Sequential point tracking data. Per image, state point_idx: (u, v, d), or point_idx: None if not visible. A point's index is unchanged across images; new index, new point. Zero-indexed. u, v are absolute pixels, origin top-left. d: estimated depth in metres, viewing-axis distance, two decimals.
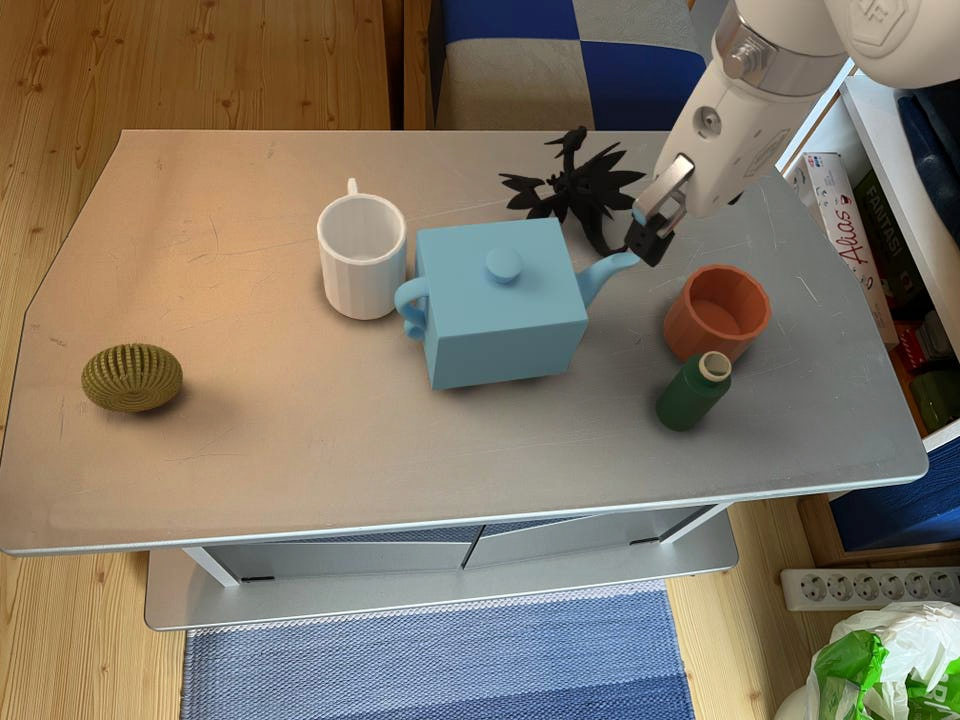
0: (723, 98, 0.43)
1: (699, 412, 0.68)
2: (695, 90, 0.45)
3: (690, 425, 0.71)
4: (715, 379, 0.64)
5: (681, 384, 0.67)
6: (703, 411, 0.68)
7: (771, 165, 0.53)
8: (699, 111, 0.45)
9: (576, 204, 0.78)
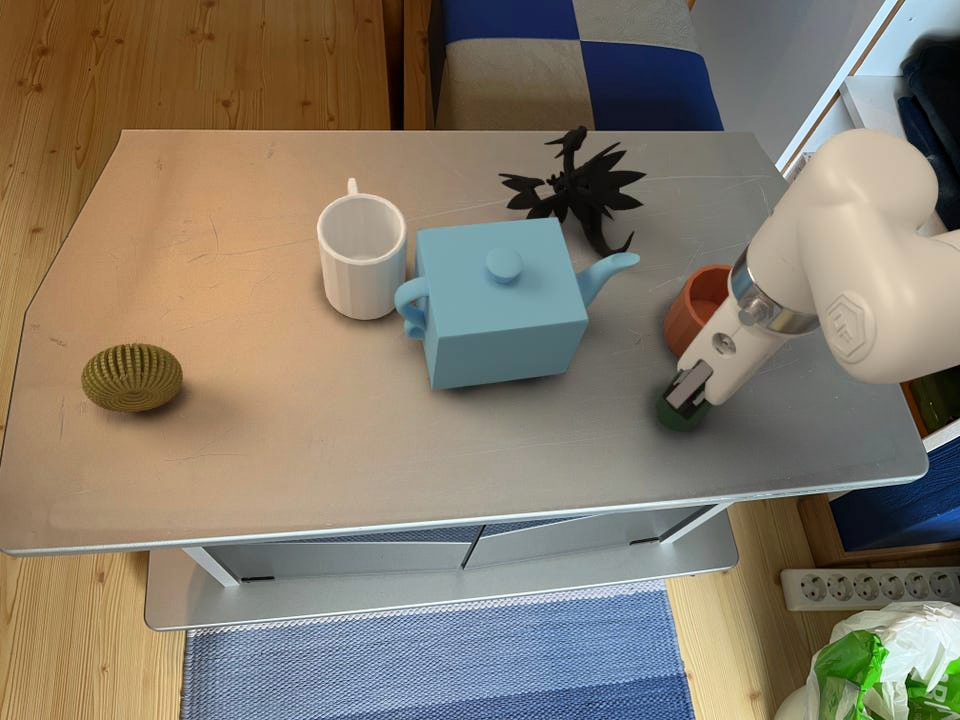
0: (737, 331, 0.53)
1: (699, 412, 0.68)
2: (714, 318, 0.55)
3: (690, 425, 0.71)
4: None
5: None
6: (703, 411, 0.68)
7: None
8: (717, 333, 0.56)
9: (576, 204, 0.78)
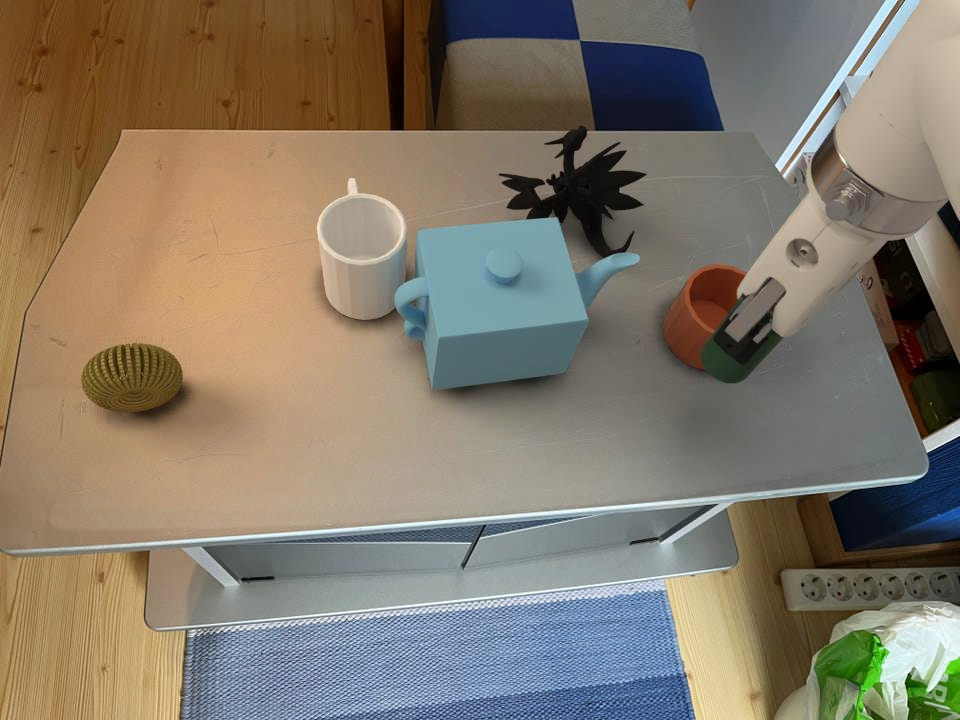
0: (821, 234, 0.43)
1: (756, 357, 0.58)
2: (790, 222, 0.45)
3: (743, 375, 0.61)
4: None
5: None
6: (761, 355, 0.58)
7: (852, 278, 0.53)
8: (792, 241, 0.45)
9: (576, 204, 0.78)
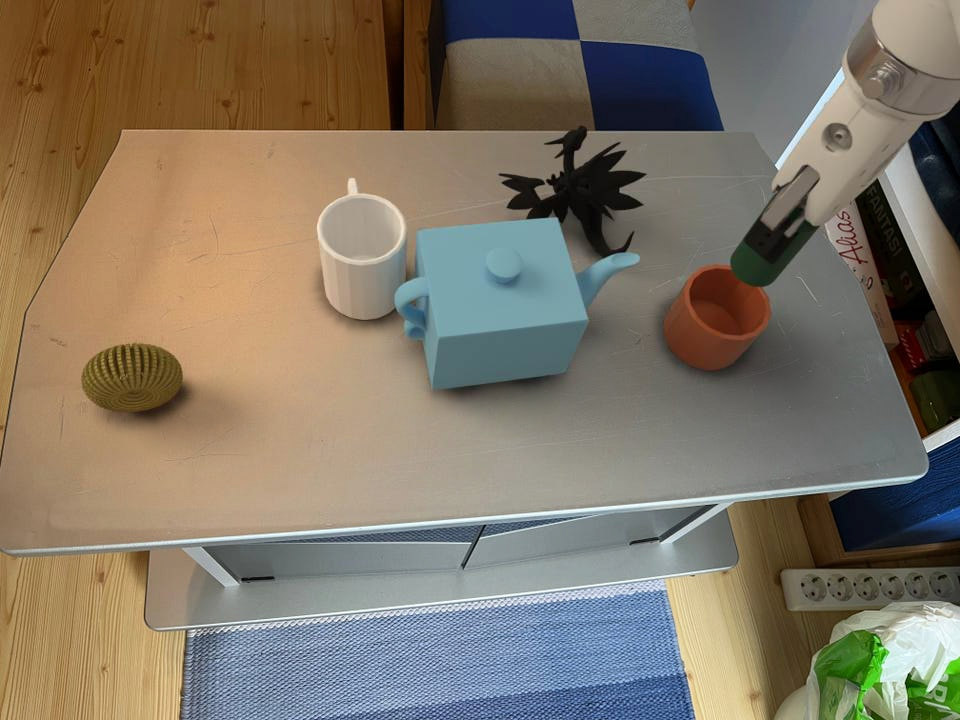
0: (856, 116, 0.47)
1: (784, 257, 0.62)
2: (826, 108, 0.48)
3: (770, 278, 0.65)
4: None
5: None
6: (789, 255, 0.62)
7: (878, 175, 0.56)
8: (828, 127, 0.49)
9: (576, 204, 0.78)
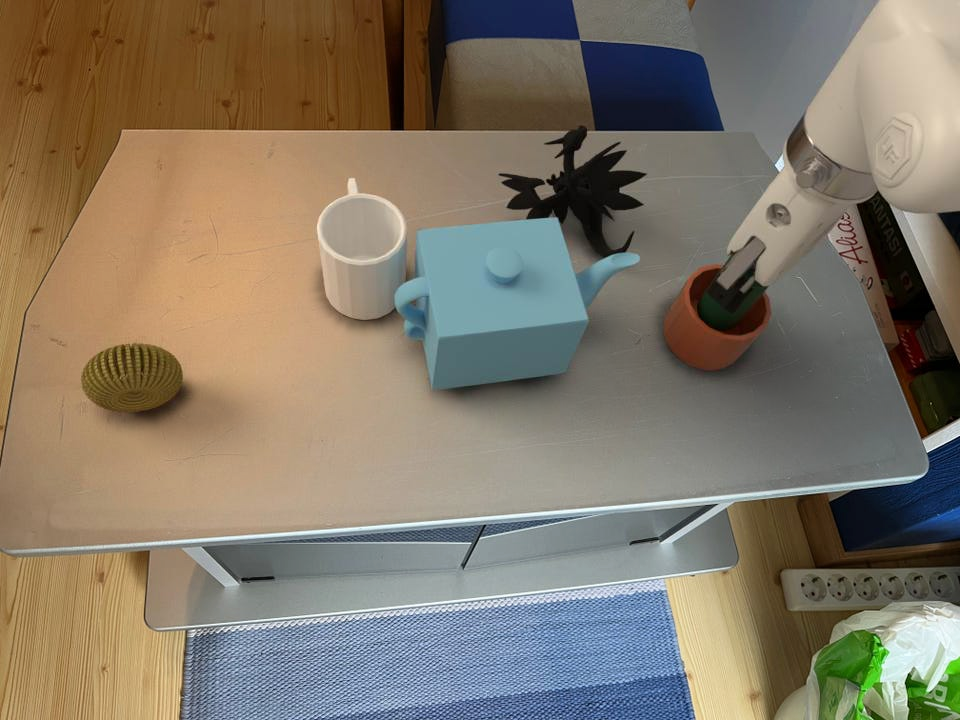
0: (793, 199, 0.54)
1: (743, 307, 0.69)
2: (769, 190, 0.56)
3: (732, 323, 0.72)
4: None
5: None
6: (747, 305, 0.69)
7: (822, 239, 0.64)
8: (771, 205, 0.57)
9: (576, 204, 0.78)
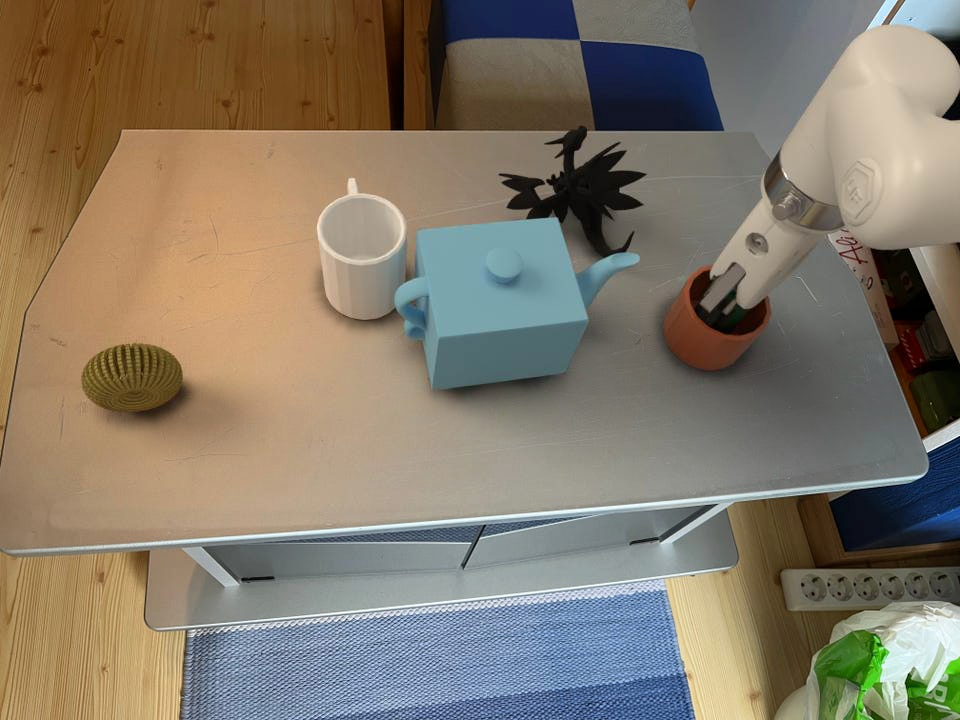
0: (770, 229, 0.57)
1: (727, 326, 0.72)
2: (748, 220, 0.59)
3: None
4: None
5: None
6: (731, 325, 0.72)
7: (801, 263, 0.67)
8: (750, 234, 0.60)
9: (576, 204, 0.78)
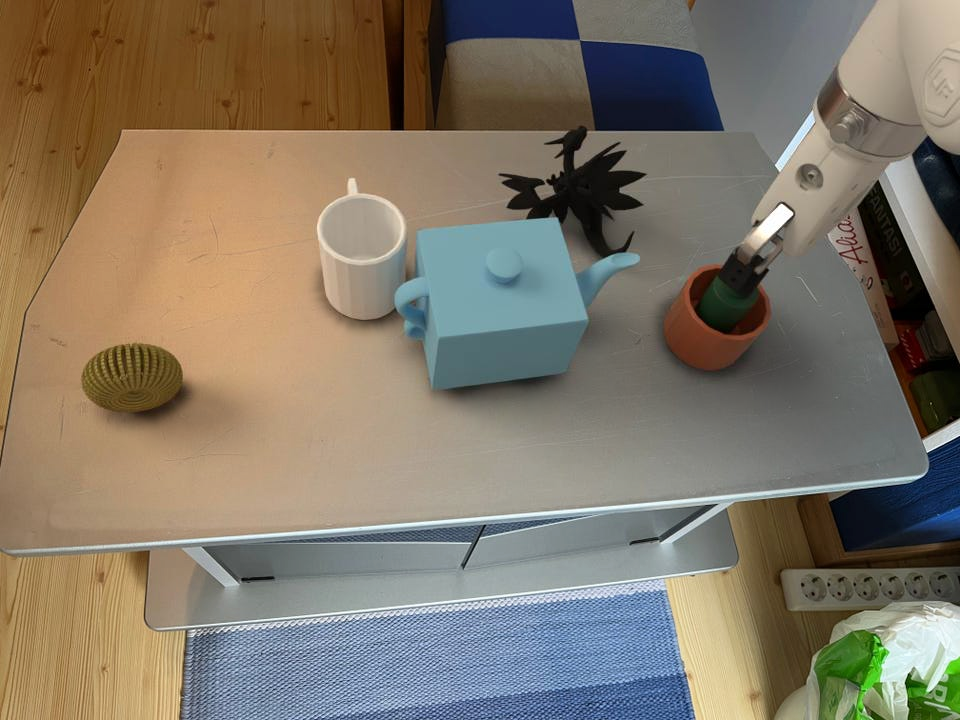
0: (826, 158, 0.50)
1: (727, 326, 0.72)
2: (799, 150, 0.52)
3: None
4: None
5: (712, 298, 0.71)
6: (731, 325, 0.72)
7: (853, 209, 0.60)
8: (801, 167, 0.53)
9: (576, 204, 0.78)
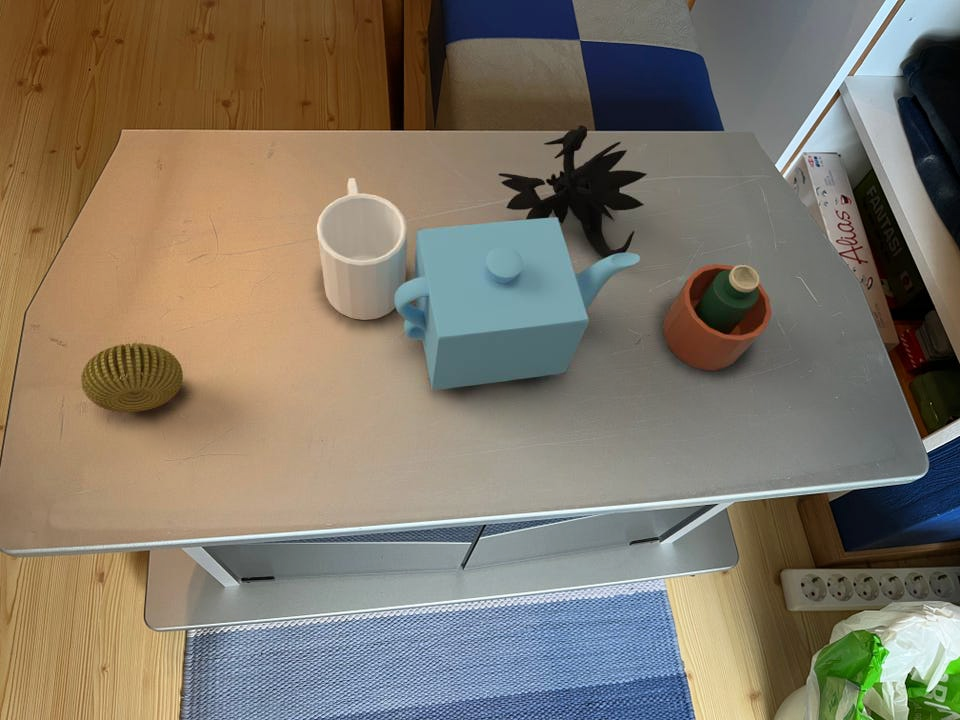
0: None
1: (727, 326, 0.72)
2: None
3: None
4: (745, 290, 0.68)
5: (712, 298, 0.71)
6: (731, 325, 0.72)
7: None
8: None
9: (576, 204, 0.78)
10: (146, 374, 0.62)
